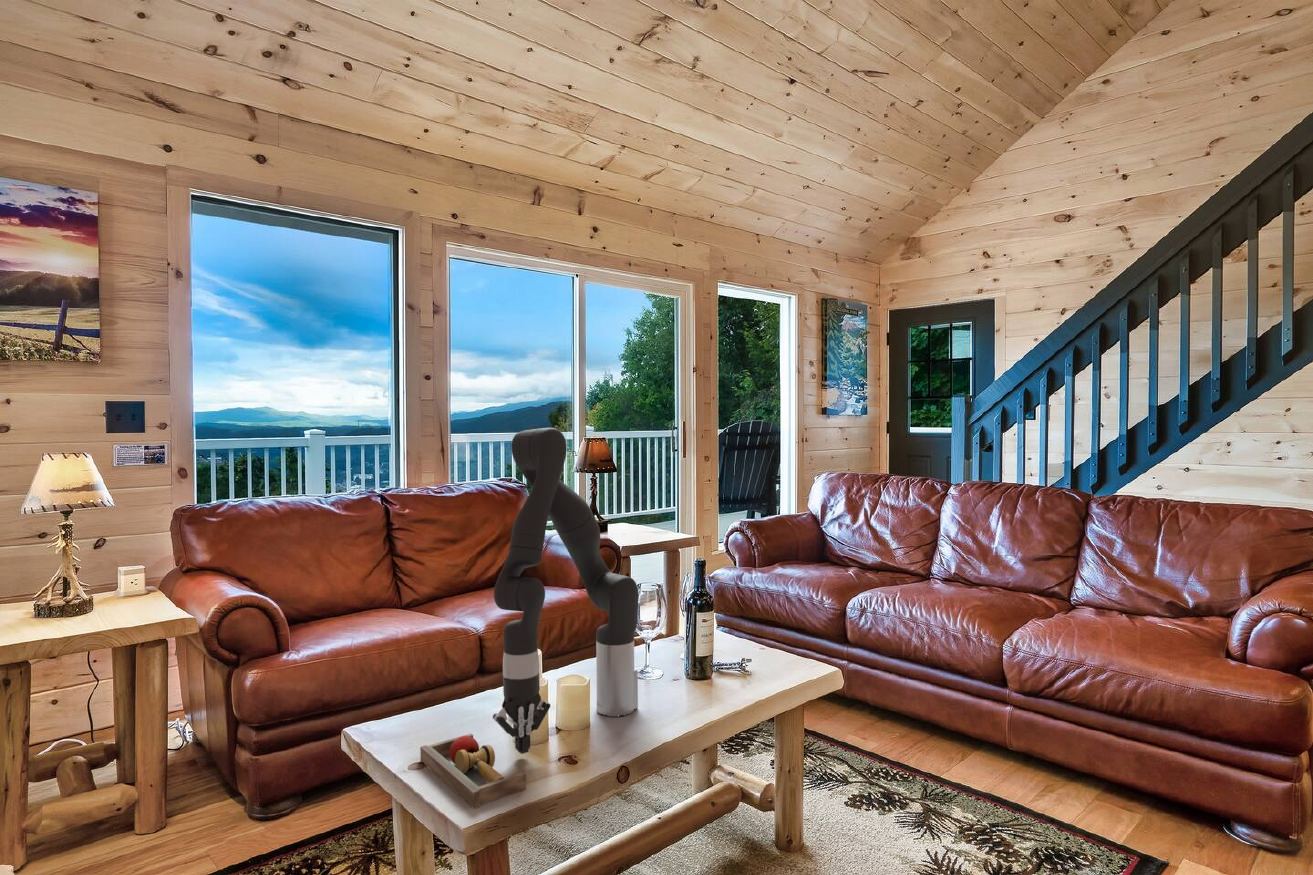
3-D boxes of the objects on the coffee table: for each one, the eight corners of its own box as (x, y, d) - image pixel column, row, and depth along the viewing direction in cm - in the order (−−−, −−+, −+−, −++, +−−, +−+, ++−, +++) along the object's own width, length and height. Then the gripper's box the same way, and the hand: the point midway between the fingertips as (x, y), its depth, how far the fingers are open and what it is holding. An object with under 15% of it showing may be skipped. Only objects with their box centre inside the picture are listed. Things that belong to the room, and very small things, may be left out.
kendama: (521, 790, 155) (476, 748, 168) (517, 762, 153) (473, 722, 166) (486, 810, 150) (443, 765, 163) (482, 782, 148) (439, 738, 162)
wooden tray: (470, 746, 172) (470, 732, 171) (527, 789, 152) (526, 774, 152) (420, 760, 165) (420, 746, 164) (473, 808, 145) (473, 792, 145)
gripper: (539, 659, 172) (541, 737, 173) (484, 673, 164) (486, 754, 165) (557, 668, 166) (559, 749, 167) (500, 683, 158) (502, 767, 159)
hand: (522, 751), depth 166 cm, fingers closed
